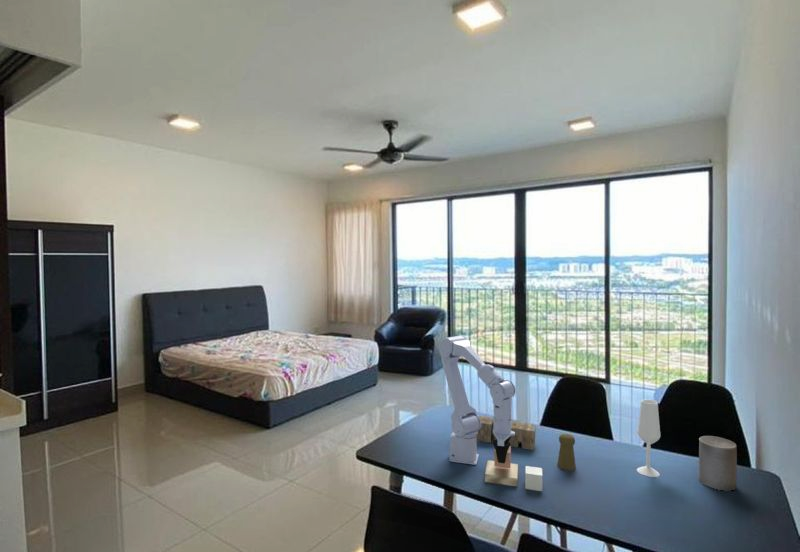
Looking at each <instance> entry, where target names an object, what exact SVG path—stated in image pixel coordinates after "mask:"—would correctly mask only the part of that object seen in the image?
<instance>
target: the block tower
mask: <svg viewBox="0 0 800 552" xmlns="http://www.w3.org/2000/svg"><path fill="white" fill-rule="evenodd" d="M463 416H466V414H465V415H463ZM463 416H462V417H463ZM478 416H479V418H480V420H481V428H480V430H478V434H477V440H478V441H477V442H482V441H485V442H484V443H488V442H490V443H489V444H491V443H492V440H496V437H495V436H494V434H493V420H494V417H490V416H483V415H478ZM511 431H514V432H515V435H514V436H511V438H510V440H509V443H511V444H510V446H511V447H512V446H514V448H518V447H519V445H520V443H521V448H522V449H525V450H530V451H534V449H535V447H534V446H536V431H537V429H536V426H534V425H533V423H530V422H529V423H528V422H523V421H515V420H511Z"/></svg>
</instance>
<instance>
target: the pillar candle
mask: <svg viewBox="0 0 800 552" xmlns="http://www.w3.org/2000/svg"><path fill="white" fill-rule="evenodd" d="M698 441H699V444H698V445H699V446H698V481H699V480H700V481H699V482H700V483H701V485H704V486H706V487H709V488H711V489H713V488H714V489H713V490H716V489H718V490H717V491H720V490H724V491H723V492H732V491H731V490H734V491H736V490H737V488H738V487H737V486H738V484H737V483H738V480H737V478H738V477H737V476H738V475H737V471H738V470H737V469H738V467H737V466H738V464H737V463H738V461H737V460H738V458H737V456H738V451H737V450H738V449H737V448H738V446H737V444H736V443H735V442H734V441H732V440H730V439H726V438H724V437H720V436H714V435H703V436H700V437H699V438H698ZM735 489H736V490H735Z"/></svg>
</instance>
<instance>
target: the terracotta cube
mask: <svg viewBox="0 0 800 552" xmlns="http://www.w3.org/2000/svg"><path fill="white" fill-rule="evenodd" d="M511 447H512V446H510V447H509V449H508V451H507V455H506V460H505V463H498V460H497V455H496V450H495V449H494V453H493V454H494V460H493V461H494V466H496V467H504V468H510V463H512V462H511V461H512V459H511V457H512V456H511V455H512V453H511V452H512V448H511Z"/></svg>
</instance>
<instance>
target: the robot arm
mask: <svg viewBox="0 0 800 552" xmlns="http://www.w3.org/2000/svg"><path fill="white" fill-rule="evenodd" d="M437 347H438V351H439V355H440V357H441V364H442V369H443V371H444V375H445V379H446V382H447V386H448V389H449V390H448V391H449V393H450V397H451V400H452V403H453V408H454V409H453V411H452V413H451V414H450V419H451V429H452V431H453V432H451V433H450V436H449V437H450V438H449V462H453V463H458V464H459V463H460V464H466V465H473V466H476V465H477V463H478V460H479V457H480V454H479V453H478V452H477V450H478V449H477V447H478V446H477V443H478V441H477V434H478V430H480V428H481V420H480V418H479V416H480V415H479V414H478V413H477V409H476V408H474V407H473V406H471V405H470V402H469V399H468V395H467V392H466V388H465V385H464V382H463V378H462V375H461V372H460V369H459V365H458V362H459V359H461V357H463V358H464V359H465V360H466V361H467V362H468V363H469V364H471V366H472V367H473V368H474V369H475V370H476V371H477V377H478V378H479V379H480V380H481V381H482V382H483V384H485V386H486V387H487V388H488V389H489V394H490V396H491V398H492V404H493V418H494V420H493V434H494V436H495V437H496V440H493V441H491V443H492V446H493V447H494V451H495V450H496V455H497V460H498V463H505V460H506V455H507V451H508V449H509V447H510V444H511V443H509V440H510V438H511V436H514V435H515V432H514V431H511V421H512V404H513V401H512V397H514V396H515V394H516V387H515V385H514V383H513V382H512V381H511V380H510V379H506V378H505V377H503V376H502V375H501V374H500V373H499V372H498V371H497V370H496V369H495V367H494V366H493V365H491V364H486V363H485V362H484V361H483V359H481V357H480V356H479V354H477V351H475V350H474V349H473V348H472V346H471V341H470V340H469V339H468V338H467V337H466V336H465V335H463V334H460V335H456V336H448V337H447V336H446V337H442V339H441V340H440V341H439V344H438V345H437ZM465 414H466V416H463V415H465ZM462 416H463V417H462Z"/></svg>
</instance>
